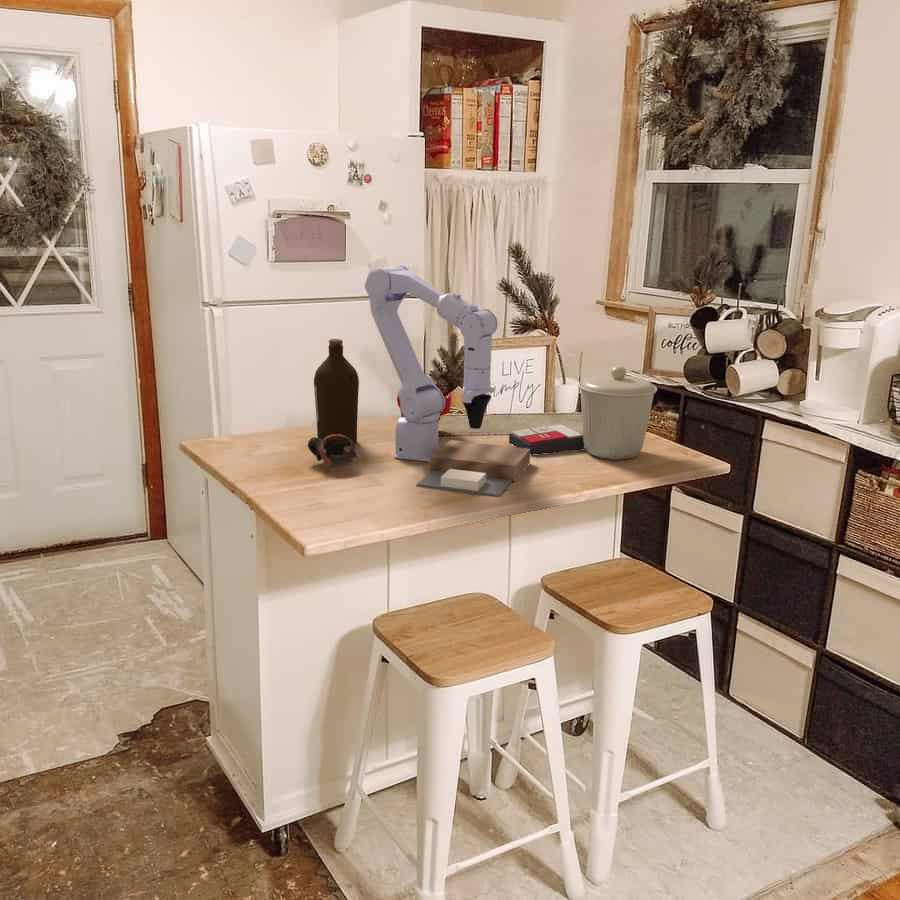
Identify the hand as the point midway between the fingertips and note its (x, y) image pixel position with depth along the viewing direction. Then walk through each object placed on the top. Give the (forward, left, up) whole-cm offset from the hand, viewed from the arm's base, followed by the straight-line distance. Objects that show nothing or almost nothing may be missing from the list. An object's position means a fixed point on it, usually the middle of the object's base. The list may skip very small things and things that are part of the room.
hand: (475, 427), depth 197 cm
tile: (+1, -12, -7) cm, 14 cm away
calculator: (+11, +23, -10) cm, 28 cm away
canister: (+27, +23, -10) cm, 37 cm away
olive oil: (-37, +7, -10) cm, 39 cm away
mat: (+1, -11, -9) cm, 15 cm away
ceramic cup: (-22, +24, -10) cm, 34 cm away
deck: (+1, +1, -9) cm, 9 cm away
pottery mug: (-30, -10, -10) cm, 33 cm away
